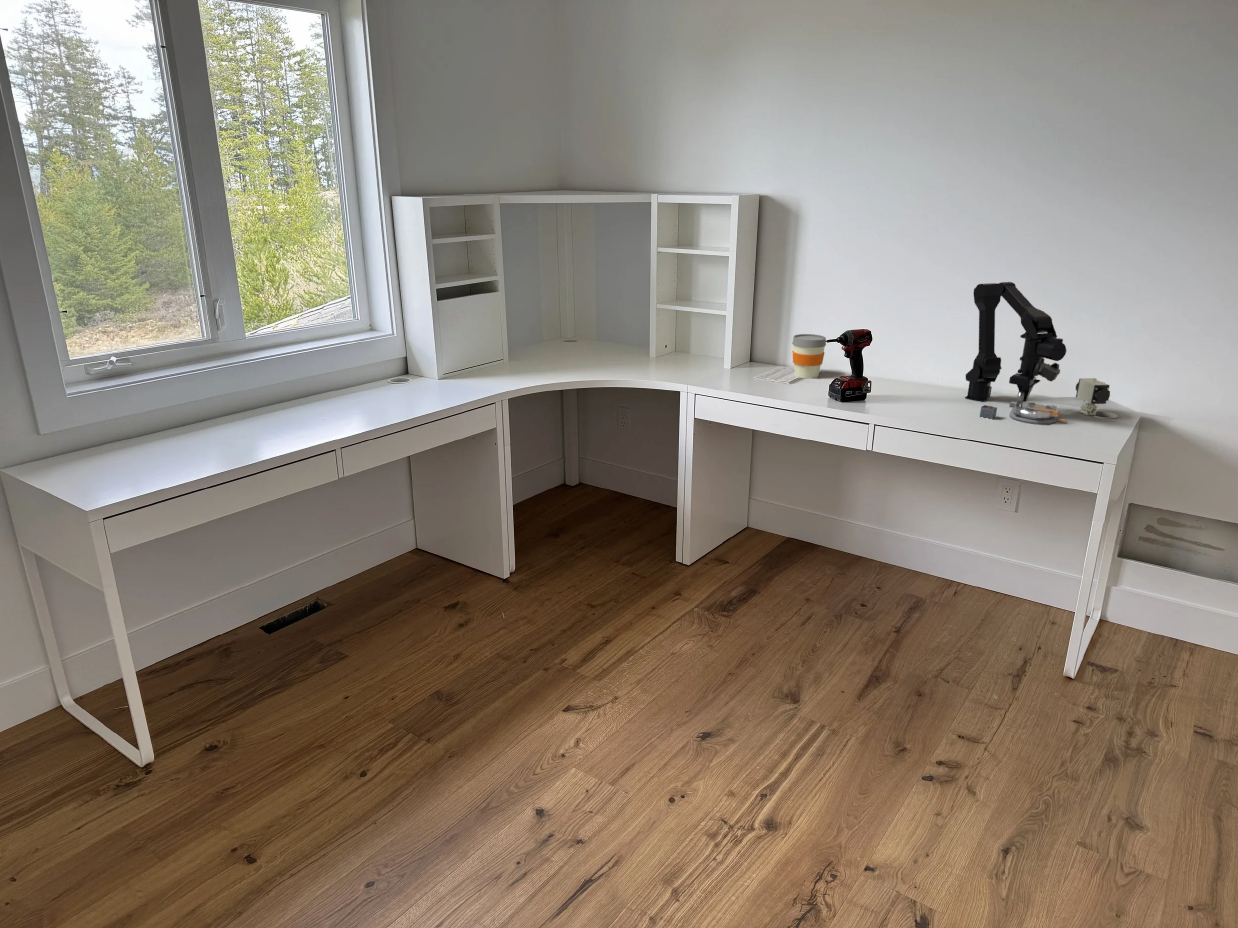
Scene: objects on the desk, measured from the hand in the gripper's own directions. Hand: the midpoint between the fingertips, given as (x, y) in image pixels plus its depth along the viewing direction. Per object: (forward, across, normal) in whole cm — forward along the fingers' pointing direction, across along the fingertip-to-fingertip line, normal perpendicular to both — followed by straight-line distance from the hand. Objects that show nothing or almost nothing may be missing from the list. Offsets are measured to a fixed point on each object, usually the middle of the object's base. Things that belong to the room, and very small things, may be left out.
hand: (1024, 401), depth 269 cm
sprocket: (+3, -2, -4) cm, 5 cm away
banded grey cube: (+5, -10, +7) cm, 14 cm away
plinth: (+5, -2, -5) cm, 7 cm away
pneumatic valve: (+5, +16, -16) cm, 23 cm away
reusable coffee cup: (+5, -1, +79) cm, 79 cm away
